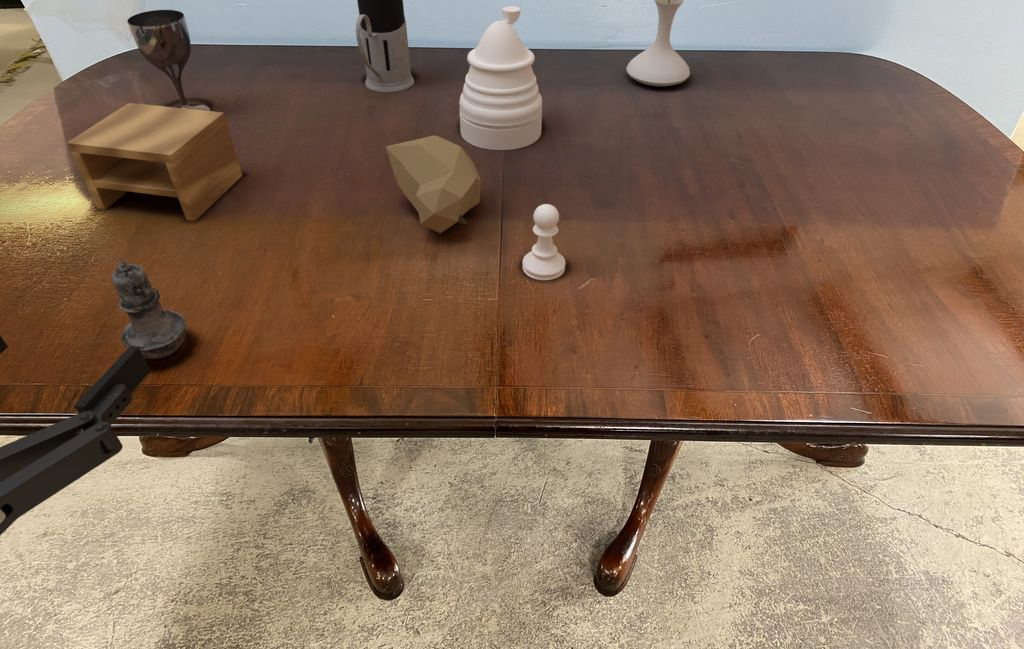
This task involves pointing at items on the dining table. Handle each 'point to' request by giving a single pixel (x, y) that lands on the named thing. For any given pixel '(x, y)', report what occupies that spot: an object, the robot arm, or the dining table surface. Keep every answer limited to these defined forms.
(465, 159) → the low-poly potato
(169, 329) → the grey chess piece
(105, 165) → the shelf
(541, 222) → the chess pawn
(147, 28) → the wine glass
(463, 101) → the honey pot
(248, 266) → the dining table surface
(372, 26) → the glass holder
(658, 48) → the flower in vase
